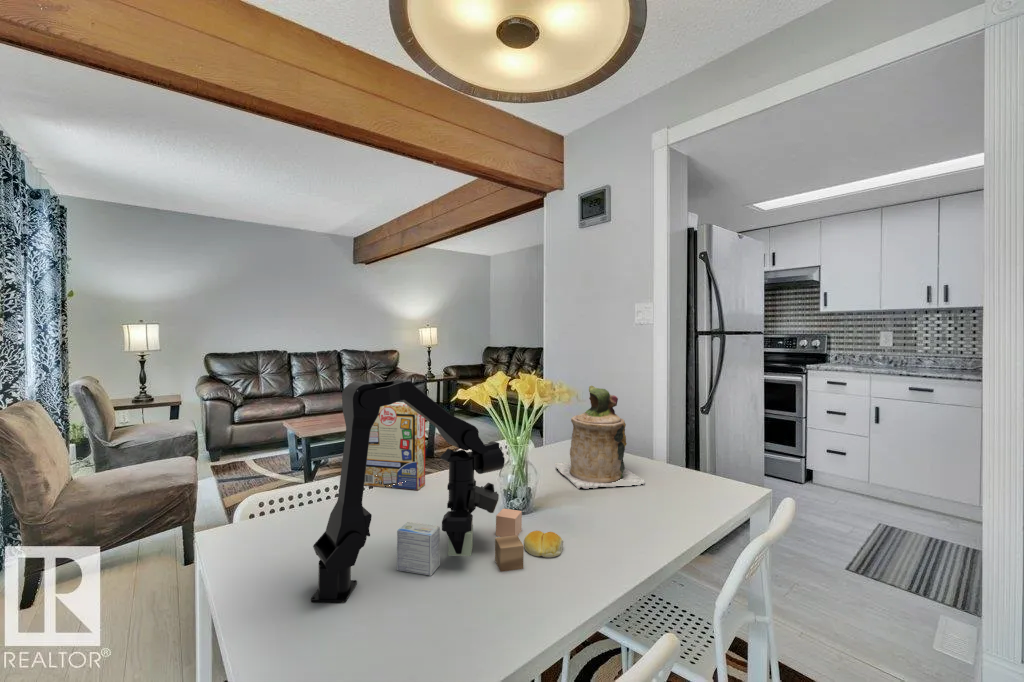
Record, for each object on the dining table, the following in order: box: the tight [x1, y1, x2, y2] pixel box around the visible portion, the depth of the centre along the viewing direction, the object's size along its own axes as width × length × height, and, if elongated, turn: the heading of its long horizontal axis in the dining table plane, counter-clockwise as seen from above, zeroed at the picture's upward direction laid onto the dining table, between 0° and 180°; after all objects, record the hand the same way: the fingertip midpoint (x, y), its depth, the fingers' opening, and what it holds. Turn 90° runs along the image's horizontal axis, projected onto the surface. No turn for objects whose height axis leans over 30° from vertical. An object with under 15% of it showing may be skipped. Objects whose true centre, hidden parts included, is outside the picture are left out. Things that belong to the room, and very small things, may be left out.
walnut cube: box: [494, 535, 525, 573], centre depth 94 cm, size 5×5×5 cm
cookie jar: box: [554, 385, 645, 490], centre depth 154 cm, size 25×25×32 cm
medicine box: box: [396, 521, 441, 577], centre depth 92 cm, size 8×4×9 cm, turn 74°
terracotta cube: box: [495, 508, 523, 537], centre depth 109 cm, size 5×5×5 cm
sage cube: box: [447, 524, 474, 557], centre depth 100 cm, size 5×5×5 cm
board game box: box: [364, 401, 426, 491], centre depth 143 cm, size 20×6×27 cm, turn 77°
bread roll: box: [523, 530, 564, 559], centre depth 101 cm, size 8×9×4 cm
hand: (460, 545), depth 100 cm, fingers open, 7 cm apart
